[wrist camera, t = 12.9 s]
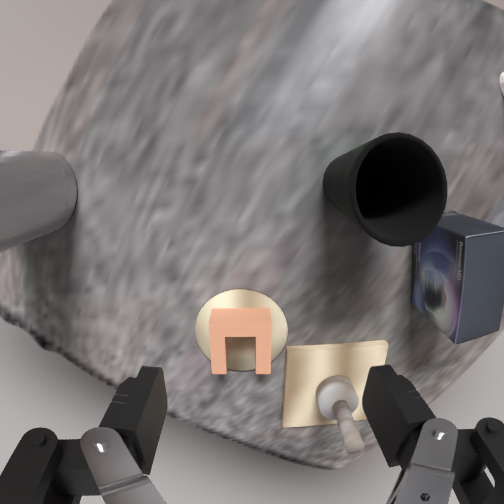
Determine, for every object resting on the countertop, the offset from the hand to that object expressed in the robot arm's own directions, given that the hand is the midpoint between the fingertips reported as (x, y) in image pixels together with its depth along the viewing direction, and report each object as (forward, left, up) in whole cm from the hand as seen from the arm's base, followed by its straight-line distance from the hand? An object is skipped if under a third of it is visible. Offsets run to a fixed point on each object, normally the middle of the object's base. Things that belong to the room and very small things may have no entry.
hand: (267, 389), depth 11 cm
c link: (-1, -9, -21) cm, 23 cm away
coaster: (-1, -9, -22) cm, 24 cm away
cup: (+10, +7, -22) cm, 25 cm away
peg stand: (+10, -17, -22) cm, 29 cm away
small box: (+21, -1, -22) cm, 30 cm away
